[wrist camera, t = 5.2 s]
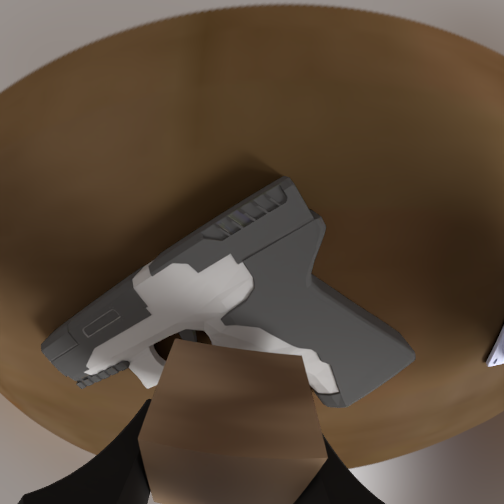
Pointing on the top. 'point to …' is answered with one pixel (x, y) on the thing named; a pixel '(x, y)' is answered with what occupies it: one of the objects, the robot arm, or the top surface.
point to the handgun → (237, 305)
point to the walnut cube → (231, 428)
